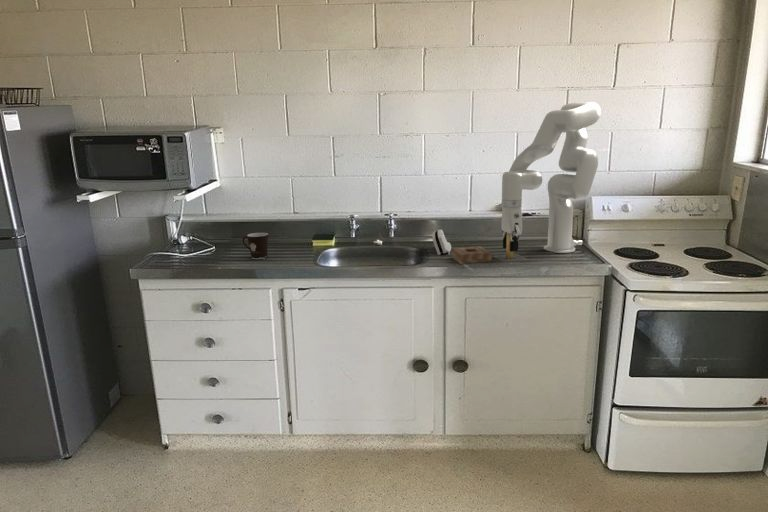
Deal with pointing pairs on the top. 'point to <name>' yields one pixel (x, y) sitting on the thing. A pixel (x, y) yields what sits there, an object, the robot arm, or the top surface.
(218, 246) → the top surface
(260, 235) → the coffee mug
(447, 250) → the white plastic device case
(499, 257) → the mat
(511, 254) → the peg
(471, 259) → the hole block
